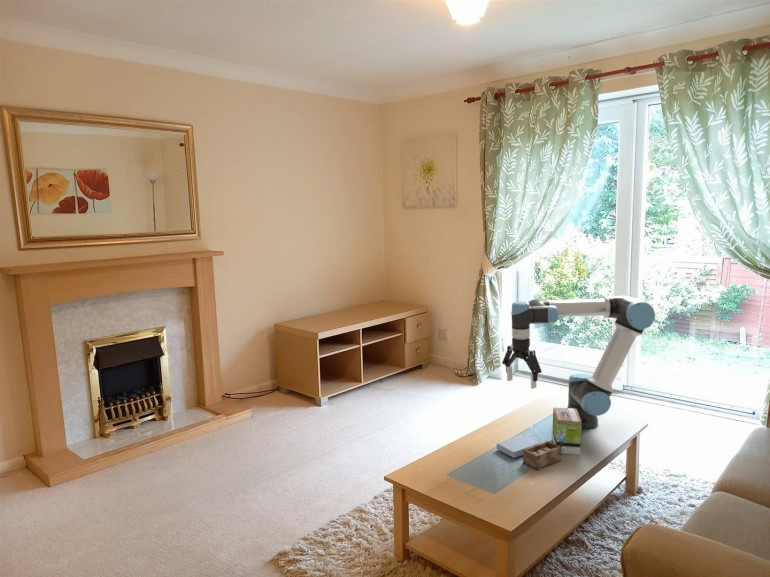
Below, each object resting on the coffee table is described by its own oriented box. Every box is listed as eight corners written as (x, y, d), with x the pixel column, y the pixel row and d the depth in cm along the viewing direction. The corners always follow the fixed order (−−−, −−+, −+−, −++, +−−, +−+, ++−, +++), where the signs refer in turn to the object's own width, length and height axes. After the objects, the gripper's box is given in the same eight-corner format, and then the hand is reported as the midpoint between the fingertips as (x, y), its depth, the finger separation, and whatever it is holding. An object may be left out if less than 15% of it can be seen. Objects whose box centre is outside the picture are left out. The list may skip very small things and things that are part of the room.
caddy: (547, 454, 218) (547, 440, 218) (560, 460, 213) (561, 446, 212) (523, 463, 211) (523, 449, 210) (536, 470, 205) (536, 456, 204)
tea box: (581, 455, 217) (582, 421, 215) (555, 453, 219) (556, 420, 217) (575, 439, 231) (576, 407, 229) (551, 438, 233) (552, 406, 231)
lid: (522, 441, 231) (522, 434, 231) (539, 450, 223) (539, 442, 222) (496, 450, 223) (496, 443, 223) (513, 459, 215) (514, 452, 214)
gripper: (493, 334, 239) (494, 379, 242) (538, 344, 218) (538, 393, 221) (505, 331, 243) (506, 375, 246) (549, 340, 222) (550, 389, 225)
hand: (521, 384), depth 234 cm, fingers open, 13 cm apart
